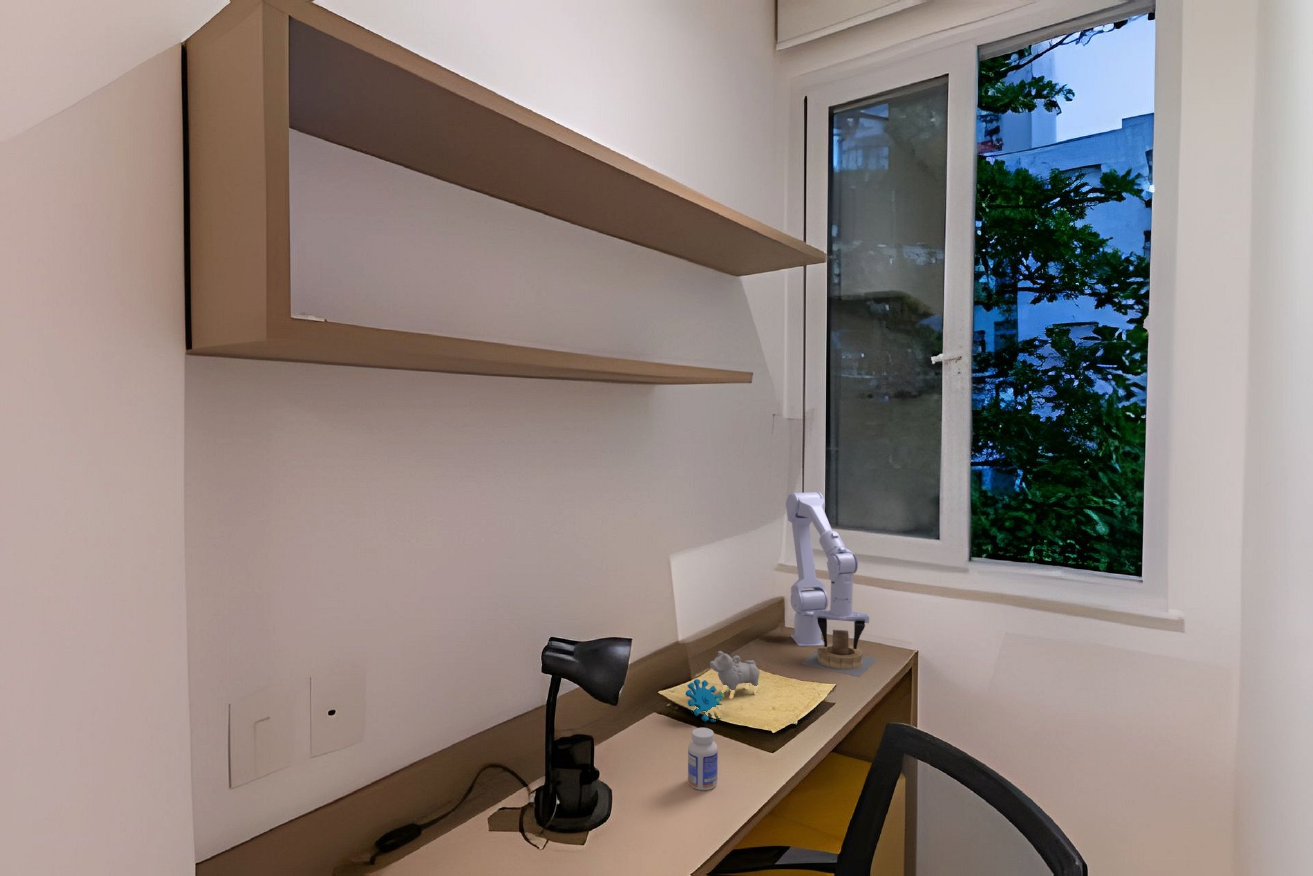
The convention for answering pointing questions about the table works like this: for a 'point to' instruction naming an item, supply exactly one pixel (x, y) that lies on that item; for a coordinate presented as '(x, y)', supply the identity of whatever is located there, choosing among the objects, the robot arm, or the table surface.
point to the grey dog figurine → (734, 670)
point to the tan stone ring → (840, 657)
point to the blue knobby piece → (703, 698)
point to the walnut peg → (840, 642)
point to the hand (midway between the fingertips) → (840, 646)
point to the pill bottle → (702, 760)
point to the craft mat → (855, 672)
